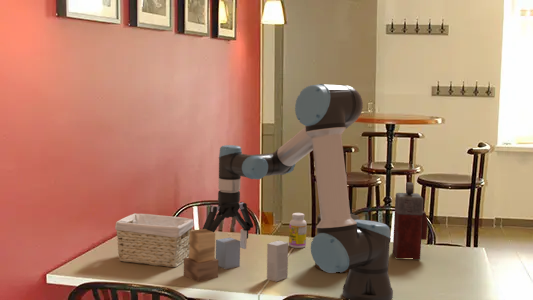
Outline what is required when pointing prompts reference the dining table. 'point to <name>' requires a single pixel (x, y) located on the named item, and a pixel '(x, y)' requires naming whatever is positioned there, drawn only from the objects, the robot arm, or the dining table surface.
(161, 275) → the dining table surface
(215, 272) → the base block
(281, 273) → the skincare box
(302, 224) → the supplement bottle
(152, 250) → the storage basket
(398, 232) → the red square decanter
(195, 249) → the oak block
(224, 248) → the blue block
